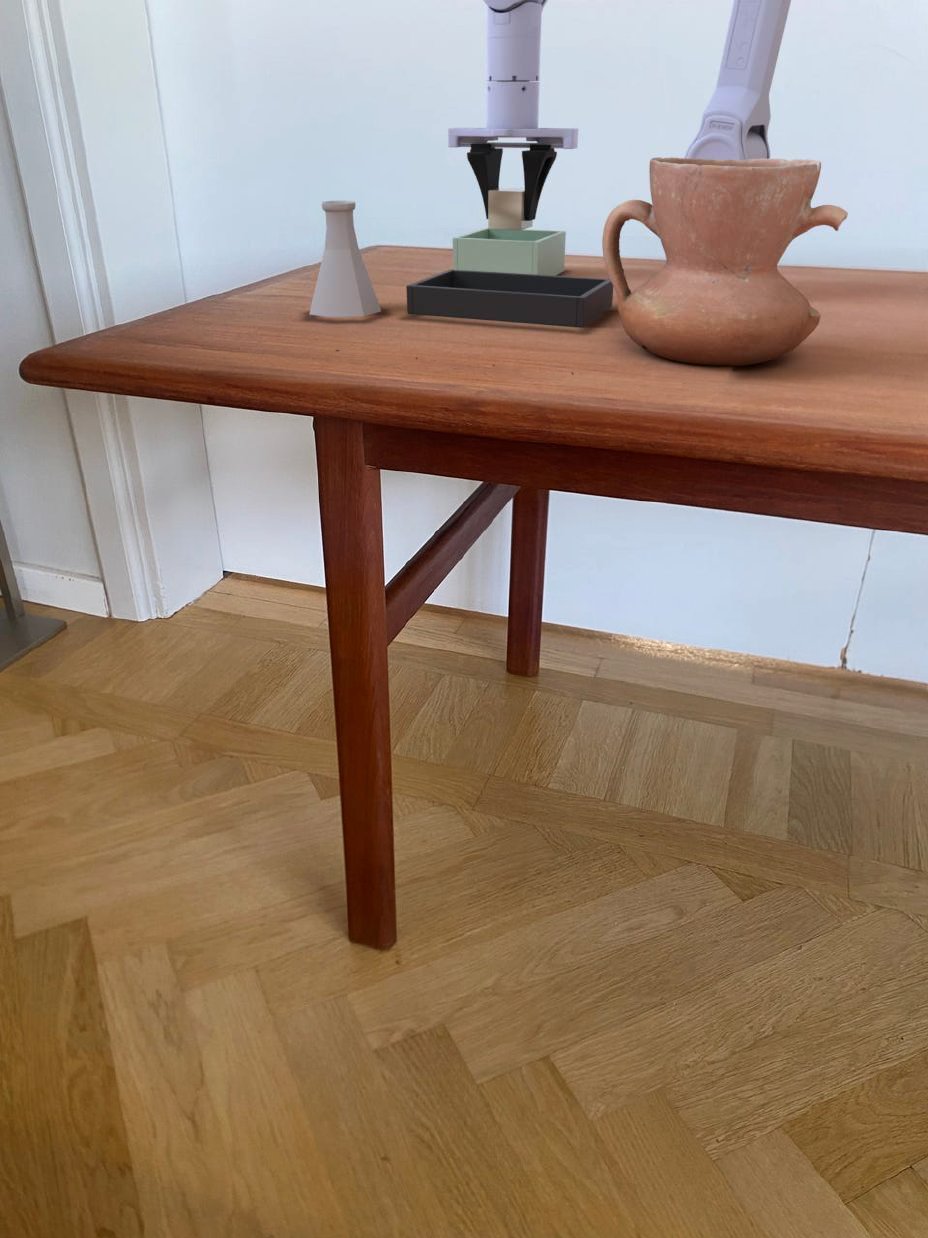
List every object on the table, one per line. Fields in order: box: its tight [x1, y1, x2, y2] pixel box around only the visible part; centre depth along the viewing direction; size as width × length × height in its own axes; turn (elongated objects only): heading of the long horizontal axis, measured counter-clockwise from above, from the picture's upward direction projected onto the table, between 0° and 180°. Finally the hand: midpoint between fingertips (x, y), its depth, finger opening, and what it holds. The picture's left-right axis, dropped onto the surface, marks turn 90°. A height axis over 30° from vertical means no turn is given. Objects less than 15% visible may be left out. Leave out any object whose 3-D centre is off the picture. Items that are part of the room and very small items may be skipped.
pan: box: [405, 268, 614, 329], centre depth 88 cm, size 17×10×3 cm, turn 67°
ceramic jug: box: [601, 156, 849, 367], centre depth 71 cm, size 18×14×14 cm
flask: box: [309, 200, 382, 318], centre depth 87 cm, size 7×7×10 cm
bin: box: [452, 227, 567, 276], centre depth 108 cm, size 10×10×4 cm
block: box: [487, 187, 534, 230], centre depth 105 cm, size 4×4×4 cm
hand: (510, 219), depth 106 cm, fingers closed on block, 4 cm apart
